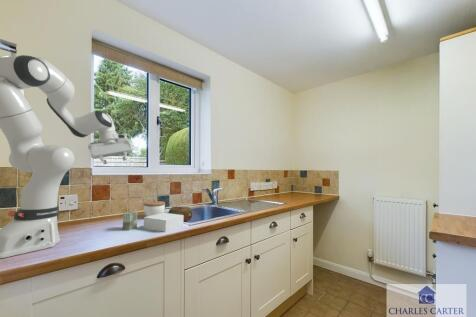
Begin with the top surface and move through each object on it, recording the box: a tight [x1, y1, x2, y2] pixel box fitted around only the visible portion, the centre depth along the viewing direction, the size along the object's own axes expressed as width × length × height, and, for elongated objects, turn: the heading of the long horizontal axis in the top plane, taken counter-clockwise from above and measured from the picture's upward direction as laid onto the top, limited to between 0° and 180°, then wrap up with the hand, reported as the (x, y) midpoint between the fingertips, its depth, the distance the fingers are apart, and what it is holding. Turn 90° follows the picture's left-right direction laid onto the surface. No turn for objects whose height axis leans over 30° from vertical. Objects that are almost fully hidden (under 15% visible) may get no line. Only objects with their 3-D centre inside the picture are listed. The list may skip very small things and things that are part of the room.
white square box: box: [143, 212, 184, 233], centre depth 118 cm, size 14×14×6 cm
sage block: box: [122, 211, 138, 231], centre depth 114 cm, size 5×5×8 cm
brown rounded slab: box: [168, 205, 194, 223], centre depth 134 cm, size 15×3×8 cm, turn 76°
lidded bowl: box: [143, 198, 166, 217], centre depth 141 cm, size 13×13×11 cm
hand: (115, 161), depth 121 cm, fingers open, 8 cm apart
